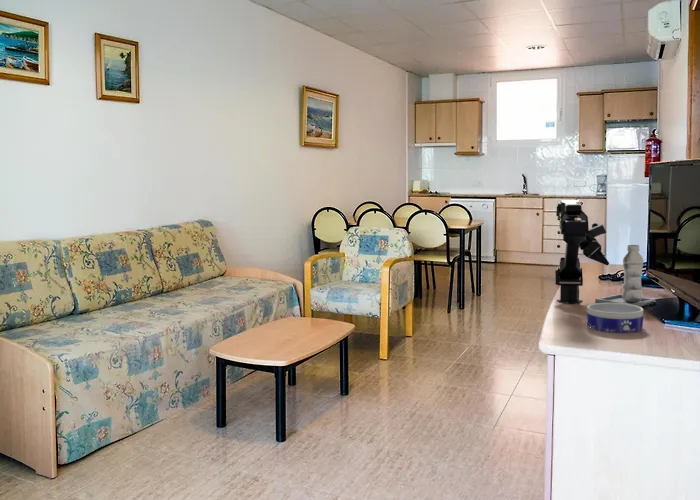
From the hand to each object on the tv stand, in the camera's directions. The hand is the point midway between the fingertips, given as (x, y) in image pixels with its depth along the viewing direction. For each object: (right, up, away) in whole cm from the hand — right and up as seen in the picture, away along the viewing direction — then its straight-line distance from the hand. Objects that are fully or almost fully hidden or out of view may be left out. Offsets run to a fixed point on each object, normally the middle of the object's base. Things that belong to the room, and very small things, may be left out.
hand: (607, 262), depth 220 cm
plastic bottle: (+6, -14, -7) cm, 17 cm away
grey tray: (+4, -14, -6) cm, 16 cm away
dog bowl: (-15, -19, -40) cm, 46 cm away
